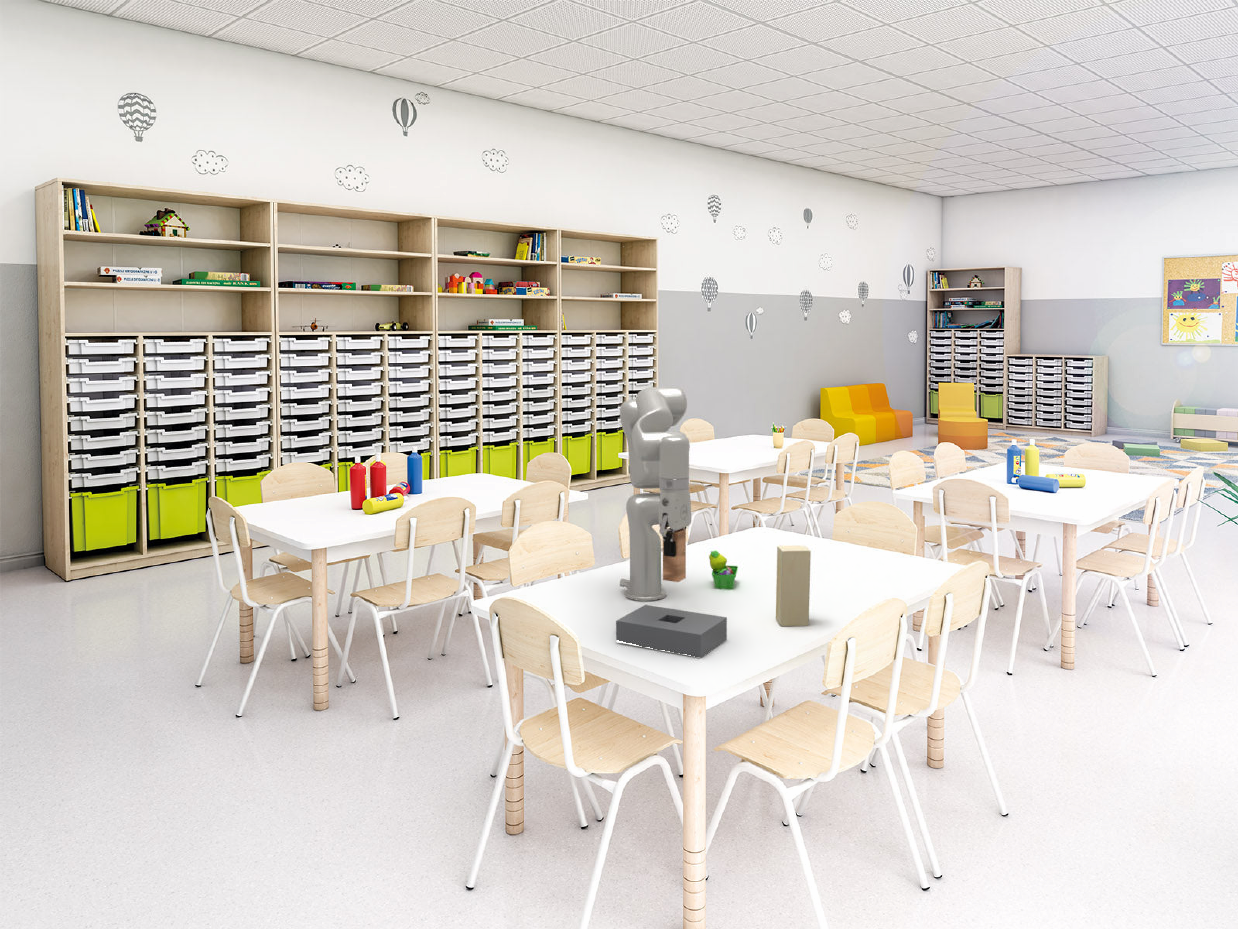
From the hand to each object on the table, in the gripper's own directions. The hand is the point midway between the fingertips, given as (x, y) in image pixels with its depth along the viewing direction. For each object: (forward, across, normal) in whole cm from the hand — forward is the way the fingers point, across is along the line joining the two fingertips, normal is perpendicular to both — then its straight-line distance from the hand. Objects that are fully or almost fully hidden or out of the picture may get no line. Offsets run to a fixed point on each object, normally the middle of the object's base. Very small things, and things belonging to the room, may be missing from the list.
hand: (674, 553), depth 237 cm
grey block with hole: (+23, -2, 0) cm, 23 cm away
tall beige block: (+23, +28, -22) cm, 43 cm away
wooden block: (+7, 0, 0) cm, 7 cm away
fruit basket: (+24, +54, +10) cm, 60 cm away
